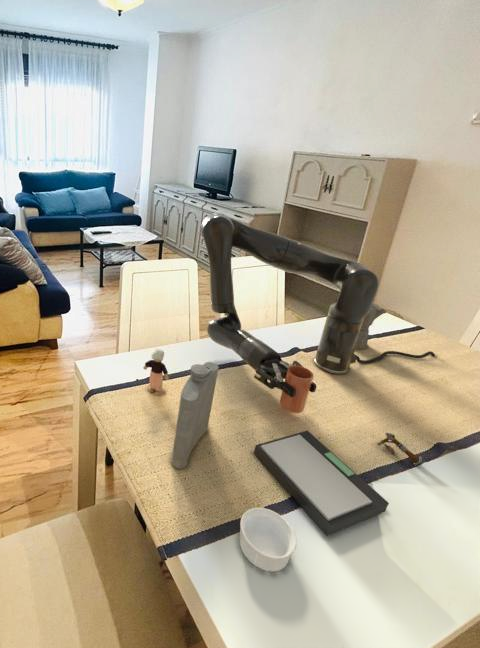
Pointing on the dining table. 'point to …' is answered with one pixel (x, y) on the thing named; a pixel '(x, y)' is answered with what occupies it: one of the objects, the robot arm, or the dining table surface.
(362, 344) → the coffeepot
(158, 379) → the grandmother figurine
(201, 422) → the hip flask
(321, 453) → the scale
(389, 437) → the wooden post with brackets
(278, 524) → the ramekin
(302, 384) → the tumbler
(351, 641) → the dining table surface
